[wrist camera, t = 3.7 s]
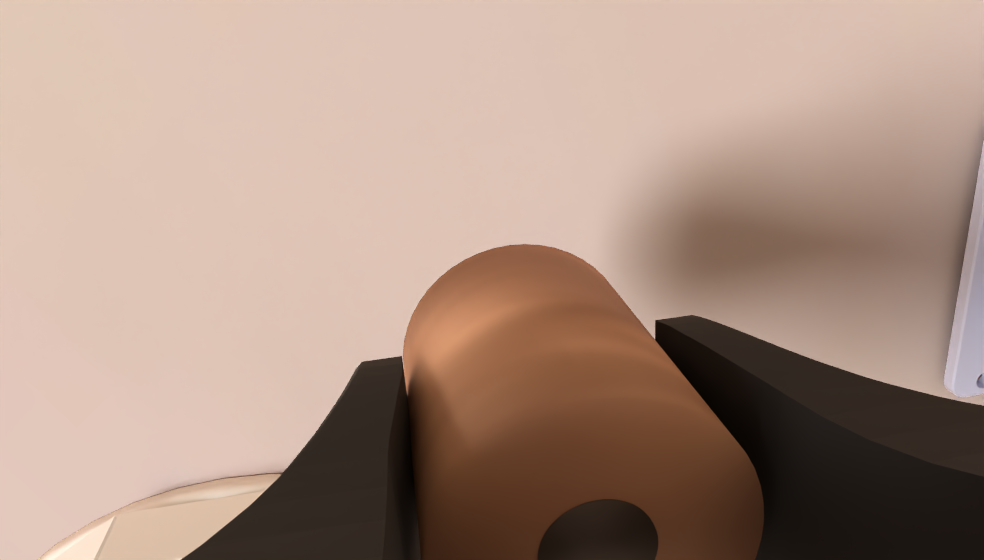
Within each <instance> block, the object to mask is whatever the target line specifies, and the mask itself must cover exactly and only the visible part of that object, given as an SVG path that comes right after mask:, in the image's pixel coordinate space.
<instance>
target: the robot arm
mask: <svg viewBox="0 0 984 560" xmlns="http://www.w3.org/2000/svg"><path fill="white" fill-rule="evenodd" d="M655 341H656V342H657V343H658V344H659V345H660V347H661V348H662V349H663V350H664V352H665V353H666V354H667V355H668V357H669V358H670V359H671V360H672V362H673V363H674V364H675V365H676V367H677V368H678V369H679V370H680V371H681V373H682V374H683V375H684V376H685V378H686V379H687V380H688V381H689V383H690V384H691V385H692V386H693V388H694V389H695V390H696V391H697V393H698V394H699V395H700V396H701V397H702V399H703V400H704V401H705V402H706V404H707V405H708V406H709V407H710V409H711V410H712V411H713V412H714V414H715V415H716V416H717V417H718V419H719V420H720V421H721V422H722V423H723V425H724V426H725V427H726V428H727V430H728V431H729V432H730V433H731V435H732V436H733V437H734V438H735V440H736V441H737V442H738V443H739V445H740V446H741V447H742V448H743V450H744V451H745V452H746V454H747V455H748V457H749V459H750V461H751V463H752V464H753V466H754V468H755V470H756V473H757V476H758V479H759V482H760V485H761V490H762V496H763V502H764V524H763V531H762V538H761V542H760V545H759V549H758V552H757V555H756V558H755V560H984V406H982V405H976V404H971V403H966V402H961V401H956V400H951V399H947V398H942V397H938V396H933V395H929V394H926V393H922V392H918V391H914V390H910V389H906V388H902V387H898V386H894V385H890V384H887V383H883V382H880V381H876V380H873V379H870V378H866V377H863V376H860V375H857V374H854V373H851V372H848V371H845V370H842V369H839V368H836V367H833V366H830V365H827V364H824V363H821V362H818V361H816V360H813V359H810V358H807V357H805V356H802V355H799V354H797V353H794V352H791V351H789V350H786V349H784V348H781V347H778V346H776V345H773V344H771V343H768V342H766V341H763V340H761V339H758V338H756V337H753V336H751V335H748V334H746V333H743V332H741V331H738V330H735V329H733V328H730V327H728V326H725V325H722V324H720V323H717V322H714V321H711V320H708V319H705V318H702V317H698V316H693V315H690V316H683V317H676V318H669V319H662V320H656V321H655ZM981 374H982V376H981V377H980V378H979V379H978V377H979V376H980V375H981ZM977 379H978V380H977ZM944 386H945V387H946V389H947V390H948V391H950V392H951V393H953V394H954V395H956V396H958V397H969V396H975V395H981V394H984V142H983V148H982V154H981V160H980V166H979V172H978V178H977V184H976V190H975V196H974V202H973V208H972V214H971V220H970V226H969V232H968V238H967V243H966V249H965V255H964V261H963V267H962V273H961V279H960V285H959V291H958V297H957V303H956V309H955V315H954V321H953V327H952V333H951V339H950V345H949V351H948V357H947V363H946V369H945V375H944ZM181 560H421V554H420V543H419V532H418V520H417V509H416V498H415V487H414V476H413V464H412V451H411V431H410V420H409V409H408V398H407V390H406V383H405V376H404V369H403V362H402V356H400V357H393V358H386V359H379V360H372V361H365V362H362V363H361V364H360V365H359V366H358V367H357V369H356V370H355V372H354V374H353V375H352V377H351V379H350V381H349V383H348V384H347V386H346V388H345V389H344V391H343V393H342V394H341V396H340V397H339V399H338V401H337V402H336V404H335V405H334V407H333V408H332V410H331V411H330V413H329V414H328V416H327V417H326V419H325V420H324V421H323V423H322V424H321V426H320V427H319V429H318V430H317V431H316V433H315V434H314V435H313V437H312V438H311V439H310V441H309V442H308V443H307V444H306V446H305V447H304V448H303V449H302V451H301V452H300V453H299V454H298V456H297V457H296V458H295V459H294V460H293V462H292V463H291V464H290V465H289V467H288V468H287V469H286V470H285V471H284V472H283V473H282V474H281V476H280V477H279V478H278V479H277V480H276V481H275V482H274V483H273V484H272V485H271V486H270V487H268V488H267V489H266V490H265V491H264V492H263V493H262V494H261V495H260V496H259V497H258V498H257V499H256V500H255V501H254V502H253V503H252V504H251V505H250V506H248V507H247V508H246V509H245V510H244V511H242V512H241V513H240V514H239V515H238V516H236V517H235V518H234V519H233V520H231V521H230V522H229V523H228V524H227V525H225V526H224V527H223V528H222V529H220V530H219V531H218V532H217V533H215V534H214V535H213V536H212V537H211V538H209V539H208V540H207V541H206V542H204V543H203V544H202V545H201V546H199V547H198V548H196V549H195V550H194V551H192V552H191V553H189V554H188V555H187V556H185V557H184V558H182V559H181Z"/></svg>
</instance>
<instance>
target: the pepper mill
mask: <svg viewBox="0 0 984 560" xmlns="http://www.w3.org/2000/svg"><path fill="white" fill-rule="evenodd" d="M403 362H404V375H405V383H406V390H407V398H408V409H409V420H410V431H411V451H412V464H413V476H414V487H415V498H416V509H417V520H418V532H419V543H420V554H421V560H755V558H756V555H757V552H758V549H759V545H760V542H761V538H762V531H763V524H764V502H763V496H762V490H761V485H760V482H759V479H758V476H757V473H756V470H755V468H754V466H753V464H752V463H751V461H750V459H749V457H748V455H747V454H746V452H745V451H744V450H743V448H742V447H741V446H740V445H739V443H738V442H737V441H736V440H735V438H734V437H733V436H732V435H731V433H730V432H729V431H728V430H727V428H726V427H725V426H724V425H723V423H722V422H721V421H720V420H719V419H718V417H717V416H716V415H715V414H714V412H713V411H712V410H711V409H710V407H709V406H708V405H707V404H706V402H705V401H704V400H703V399H702V397H701V396H700V395H699V394H698V393H697V391H696V390H695V389H694V388H693V386H692V385H691V384H690V383H689V381H688V380H687V379H686V378H685V376H684V375H683V374H682V373H681V371H680V370H679V369H678V368H677V367H676V365H675V364H674V363H673V362H672V360H671V359H670V358H669V357H668V355H667V354H666V353H665V352H664V350H663V349H662V348H661V347H660V345H659V344H658V343H657V342H656V341H655V339H654V338H653V337H652V336H651V334H650V333H649V332H648V331H647V329H646V328H645V327H644V326H643V324H642V323H641V322H640V321H639V319H638V318H637V317H636V316H635V315H634V313H633V312H632V311H631V310H630V308H629V307H628V306H627V305H626V303H625V302H624V301H623V300H622V298H621V297H620V296H619V295H618V293H617V292H616V291H615V290H614V289H613V287H612V286H611V285H610V284H609V282H608V281H607V280H606V279H605V277H604V276H603V275H602V274H600V273H599V272H598V271H597V270H596V269H595V268H594V267H593V266H591V265H590V264H588V263H587V262H585V261H584V260H583V259H581V258H579V257H577V256H575V255H573V254H571V253H568V252H565V251H562V250H559V249H556V248H552V247H547V246H542V245H528V244H523V245H509V246H504V247H498V248H494V249H490V250H487V251H484V252H481V253H478V254H476V255H474V256H472V257H470V258H468V259H465V260H464V261H462V262H460V263H459V264H457V265H456V266H454V267H452V268H451V269H450V270H449V271H447V272H446V273H445V274H444V275H442V276H441V277H440V278H439V279H438V280H437V281H436V282H435V283H434V284H433V285H432V286H431V287H430V288H429V289H428V291H427V292H426V293H425V295H424V296H423V297H422V299H421V300H420V302H419V303H418V305H417V307H416V309H415V311H414V313H413V314H412V317H411V320H410V322H409V325H408V328H407V332H406V336H405V340H404V351H403Z"/></svg>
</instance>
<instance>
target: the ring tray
mask: <svg viewBox="0 0 984 560" xmlns="http://www.w3.org/2000/svg"><path fill="white" fill-rule="evenodd" d="M280 476H281V474H264V475H254V476H245V477H235V478H225V479H219V480H214V481H210V482H205V483H200V484H196V485H191V486H186V487H181V488H177V489H174V490H171V491H168V492H165V493H162V494H159V495H156V496H153V497H149V498H146V499H143V500H140V501H137V502H134V503H132V504H130V505H127V506H125V507H123V508H121V509H119V510H117V511H114V512H112V513H110V514H108V515H106V516H104V517H102V518H99V519H97V520H95V521H93V522H91V523H89V524H88V525H86V526H85V527H83V528H81V529H80V530H78V531H77V532H75V533H73V534H72V535H70V536H69V537H67V538H65V539H64V540H62V541H60V542H59V543H57V544H56V545H54V546H53V547H52V548H51V549H49V550H48V551H47V552H46V553H45V554H43V555H42V556H41V557H40V558H38V559H37V560H181V559H182V558H184V557H185V556H187V555H188V554H189V553H191V552H192V551H194V550H195V549H196V548H198V547H199V546H201V545H202V544H203V543H204V542H206V541H207V540H208V539H209V538H211V537H212V536H213V535H214V534H215V533H217V532H218V531H219V530H220V529H222V528H223V527H224V526H225V525H227V524H228V523H229V522H230V521H231V520H233V519H234V518H235V517H236V516H238V515H239V514H240V513H241V512H242V511H244V510H245V509H246V508H247V507H248V506H250V505H251V504H252V503H253V502H254V501H255V500H256V499H257V498H258V497H259V496H260V495H261V494H262V493H263V492H264V491H265V490H266V489H267V488H268V487H270V486H271V485H272V484H273V483H274V482H275V481H276V480H277V479H278V478H279V477H280Z"/></svg>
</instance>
